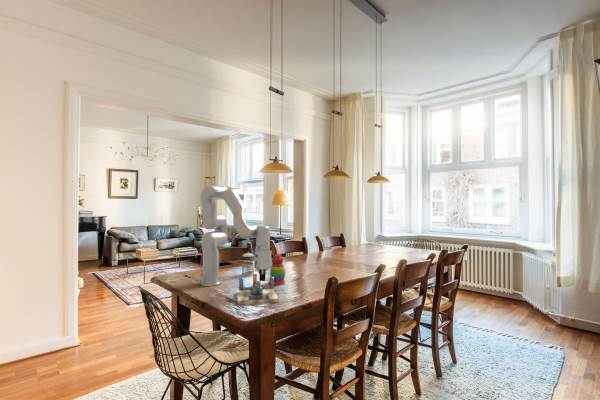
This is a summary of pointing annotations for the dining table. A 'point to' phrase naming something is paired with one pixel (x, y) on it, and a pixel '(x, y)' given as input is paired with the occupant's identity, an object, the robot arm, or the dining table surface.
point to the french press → (247, 273)
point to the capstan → (256, 286)
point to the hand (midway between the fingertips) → (262, 280)
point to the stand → (256, 297)
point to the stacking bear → (277, 270)
